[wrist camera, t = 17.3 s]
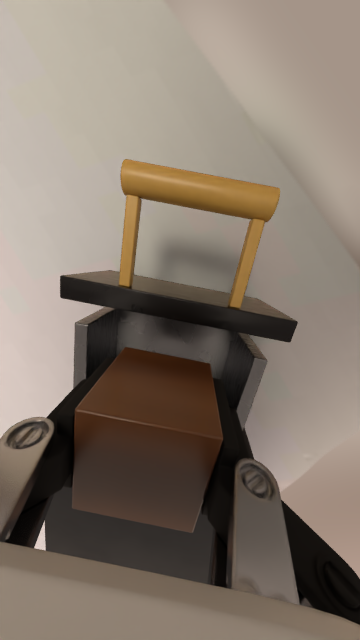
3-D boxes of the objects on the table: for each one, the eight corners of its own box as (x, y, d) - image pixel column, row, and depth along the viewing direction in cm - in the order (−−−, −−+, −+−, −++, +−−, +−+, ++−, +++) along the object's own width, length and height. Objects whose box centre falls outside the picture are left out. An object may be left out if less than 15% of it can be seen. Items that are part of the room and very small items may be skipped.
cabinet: (100, 364, 20) (40, 431, 12) (233, 390, 20) (259, 475, 12) (93, 473, 24) (46, 572, 16) (200, 495, 24) (203, 605, 16)
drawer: (115, 191, 14) (59, 140, 8) (282, 222, 14) (347, 194, 8) (99, 411, 20) (59, 474, 14) (216, 434, 20) (226, 508, 14)
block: (124, 345, 10) (73, 409, 6) (210, 362, 10) (224, 439, 6) (117, 415, 11) (70, 509, 7) (193, 430, 11) (193, 534, 7)
